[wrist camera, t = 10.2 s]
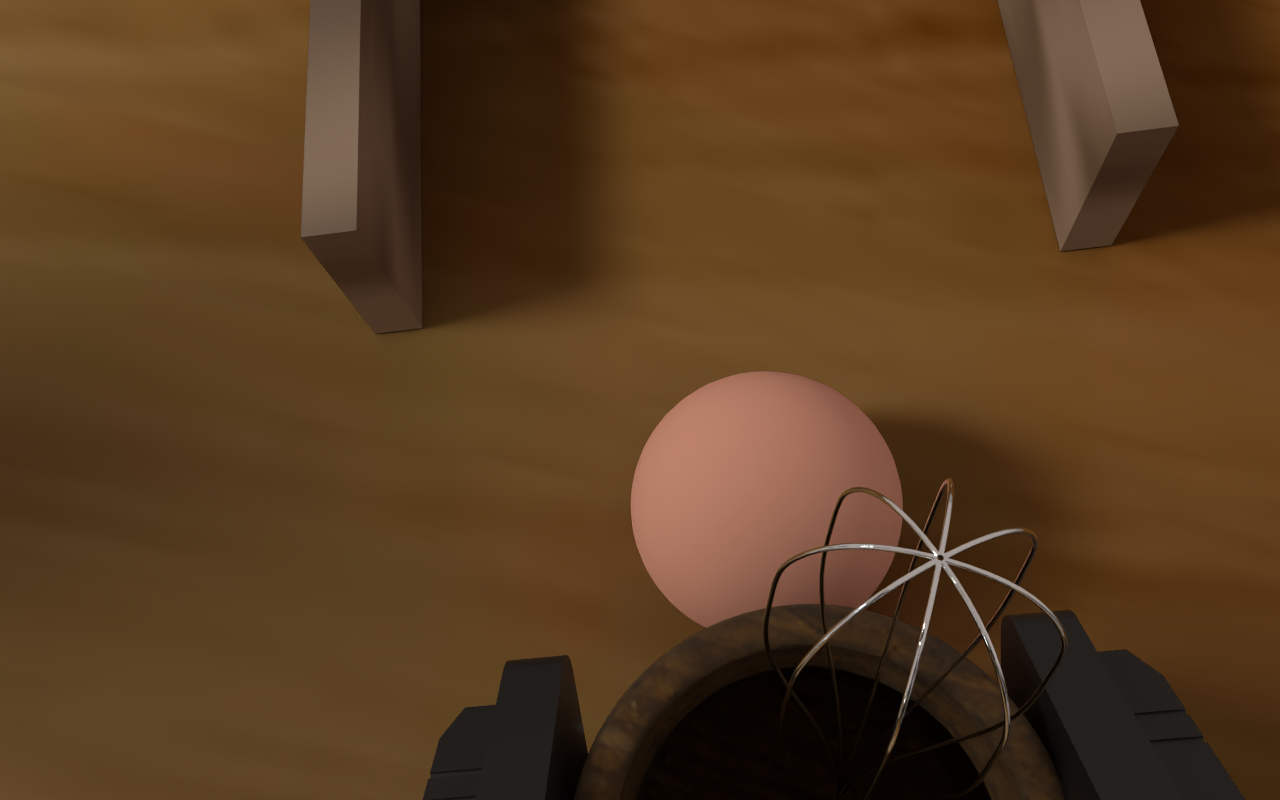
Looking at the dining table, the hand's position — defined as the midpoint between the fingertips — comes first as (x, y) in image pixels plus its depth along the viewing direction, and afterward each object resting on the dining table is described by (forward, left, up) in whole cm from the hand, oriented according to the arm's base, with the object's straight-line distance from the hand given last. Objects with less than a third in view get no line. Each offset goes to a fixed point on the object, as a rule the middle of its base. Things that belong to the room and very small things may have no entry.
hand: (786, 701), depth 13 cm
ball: (+3, +2, -5) cm, 6 cm away
